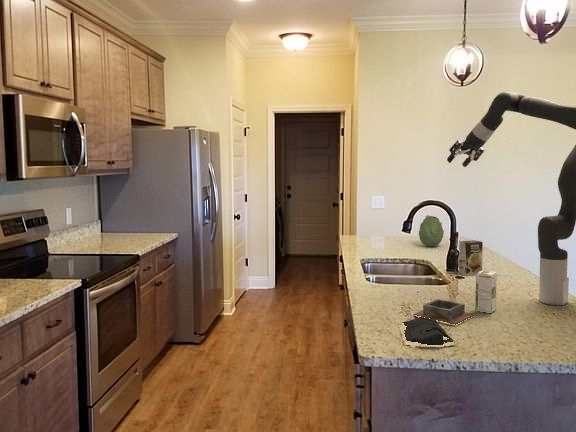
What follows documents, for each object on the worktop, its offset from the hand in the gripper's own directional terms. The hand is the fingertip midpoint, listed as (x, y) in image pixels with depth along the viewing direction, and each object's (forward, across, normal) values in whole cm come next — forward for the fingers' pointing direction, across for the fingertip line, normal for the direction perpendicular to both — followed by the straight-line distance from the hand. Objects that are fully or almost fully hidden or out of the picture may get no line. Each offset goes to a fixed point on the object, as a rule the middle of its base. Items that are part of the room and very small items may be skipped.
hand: (456, 163), depth 211 cm
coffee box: (+45, +35, -21) cm, 60 cm away
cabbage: (+86, +68, +37) cm, 116 cm away
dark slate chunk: (+20, -37, -75) cm, 86 cm away
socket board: (+24, -20, -63) cm, 70 cm away
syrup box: (+20, -2, -62) cm, 65 cm away
